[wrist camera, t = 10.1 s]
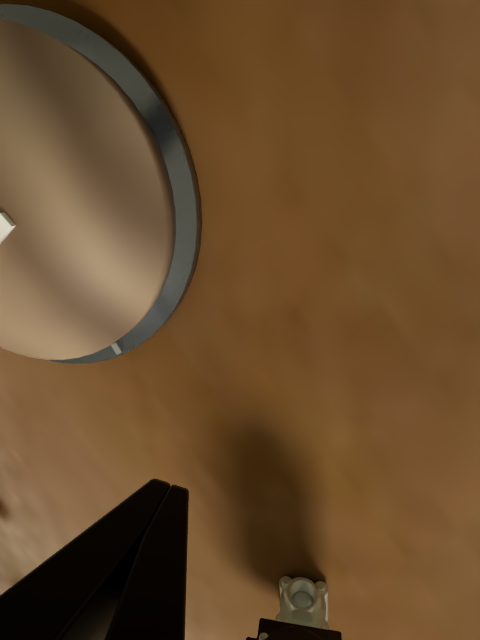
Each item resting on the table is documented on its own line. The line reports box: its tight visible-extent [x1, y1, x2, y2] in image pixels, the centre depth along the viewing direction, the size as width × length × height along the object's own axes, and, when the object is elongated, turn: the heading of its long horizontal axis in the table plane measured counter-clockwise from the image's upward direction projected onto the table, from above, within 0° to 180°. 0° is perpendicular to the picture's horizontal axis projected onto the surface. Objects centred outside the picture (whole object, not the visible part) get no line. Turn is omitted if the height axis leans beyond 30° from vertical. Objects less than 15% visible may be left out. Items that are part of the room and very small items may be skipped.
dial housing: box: [0, 4, 202, 364], centre depth 20 cm, size 18×18×1 cm
